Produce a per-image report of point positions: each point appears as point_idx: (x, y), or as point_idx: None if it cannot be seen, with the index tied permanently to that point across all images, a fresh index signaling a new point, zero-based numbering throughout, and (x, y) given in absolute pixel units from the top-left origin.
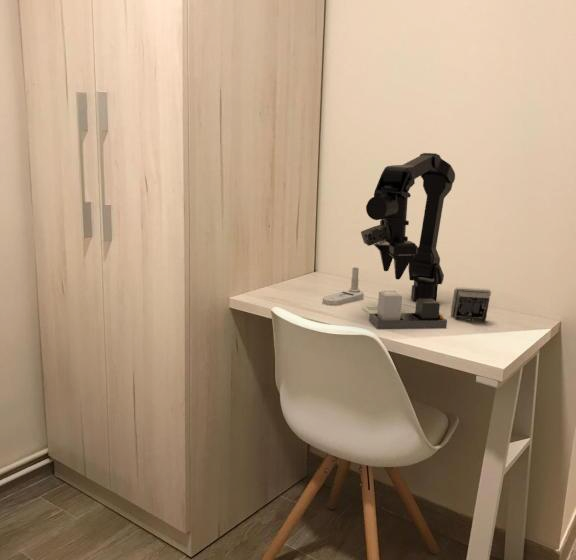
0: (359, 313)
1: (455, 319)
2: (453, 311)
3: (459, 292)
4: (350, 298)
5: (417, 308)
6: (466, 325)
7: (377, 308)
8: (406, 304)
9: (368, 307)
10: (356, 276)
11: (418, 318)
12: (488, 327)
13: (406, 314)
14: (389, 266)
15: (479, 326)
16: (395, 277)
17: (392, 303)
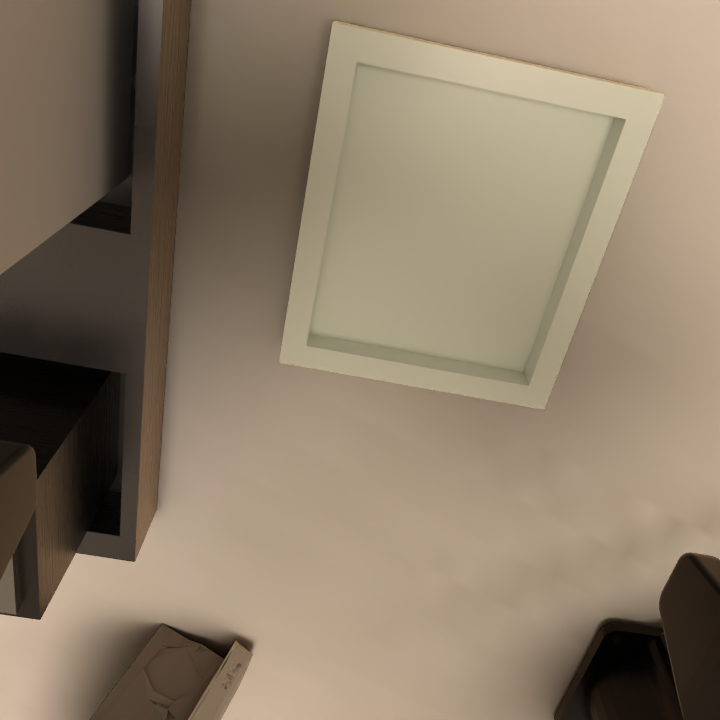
0: (570, 2)
1: (159, 633)
2: (211, 683)
3: None
4: None
5: (15, 422)
6: (67, 632)
7: (573, 246)
8: (653, 559)
9: (612, 152)
10: None
11: (11, 370)
12: (22, 705)
13: (96, 317)
14: (682, 696)
15: (43, 678)
16: (9, 453)
17: None
